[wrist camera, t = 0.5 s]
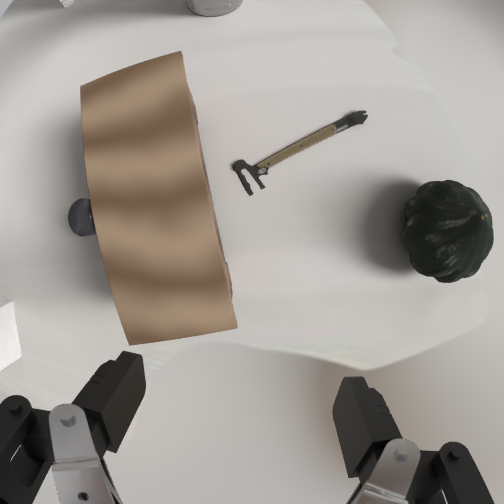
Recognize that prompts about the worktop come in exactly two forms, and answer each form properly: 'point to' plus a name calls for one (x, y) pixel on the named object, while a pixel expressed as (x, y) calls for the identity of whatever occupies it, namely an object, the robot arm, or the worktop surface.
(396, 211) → the worktop surface
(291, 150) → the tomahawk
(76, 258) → the worktop surface
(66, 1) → the white bracket plate
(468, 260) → the squash
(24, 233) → the worktop surface
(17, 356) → the milk
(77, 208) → the joystick
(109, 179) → the cabinet
